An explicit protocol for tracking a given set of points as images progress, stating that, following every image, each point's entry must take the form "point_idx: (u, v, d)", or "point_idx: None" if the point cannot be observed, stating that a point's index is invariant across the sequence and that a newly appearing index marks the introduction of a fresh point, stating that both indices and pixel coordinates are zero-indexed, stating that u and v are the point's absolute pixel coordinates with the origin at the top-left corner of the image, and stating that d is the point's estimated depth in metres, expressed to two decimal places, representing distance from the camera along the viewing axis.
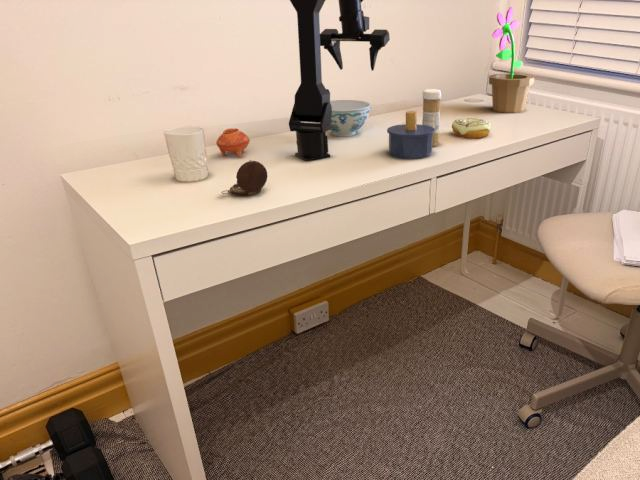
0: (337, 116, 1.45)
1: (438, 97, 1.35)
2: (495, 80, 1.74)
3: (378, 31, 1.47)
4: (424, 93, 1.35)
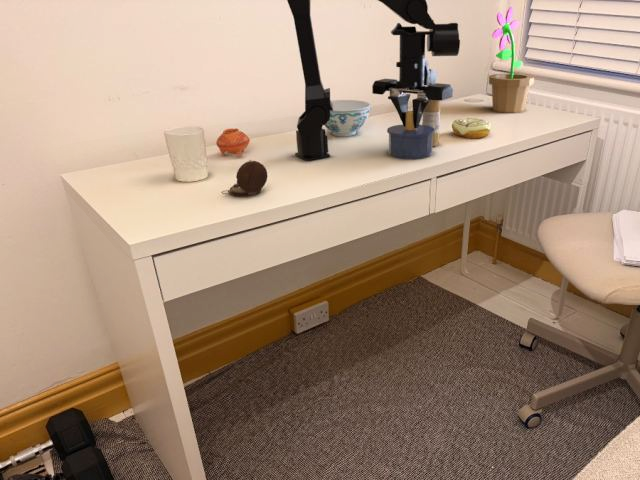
0: (337, 116, 1.45)
1: None
2: (495, 80, 1.74)
3: (440, 84, 1.25)
4: None
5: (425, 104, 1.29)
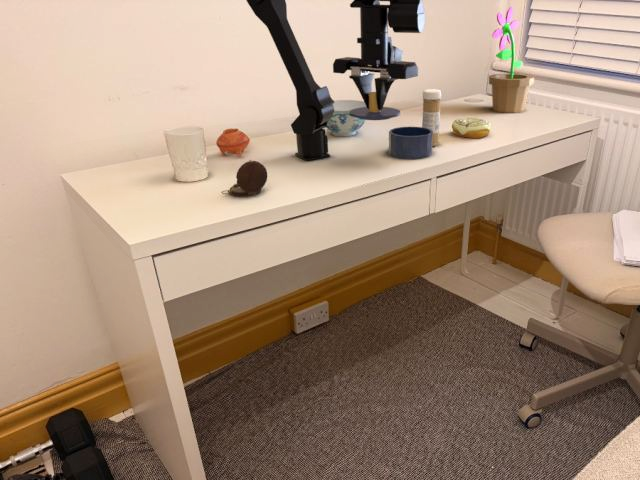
0: (337, 116, 1.45)
1: (438, 97, 1.35)
2: (495, 80, 1.74)
3: (404, 62, 1.16)
4: (424, 93, 1.35)
5: (389, 84, 1.20)
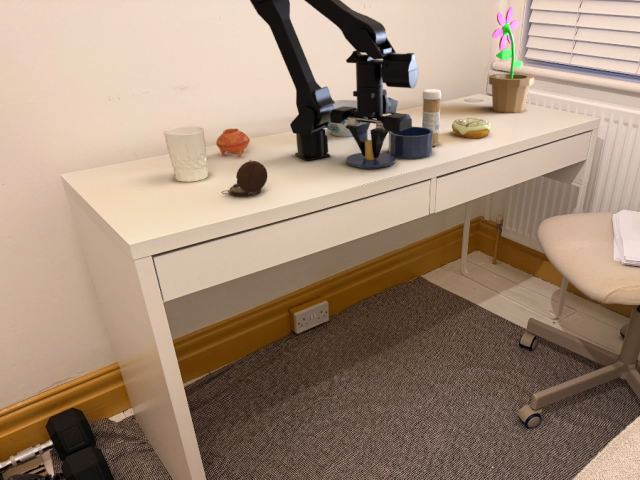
0: None
1: (438, 97, 1.35)
2: (495, 80, 1.74)
3: (398, 114, 1.20)
4: (424, 93, 1.35)
5: (385, 134, 1.24)
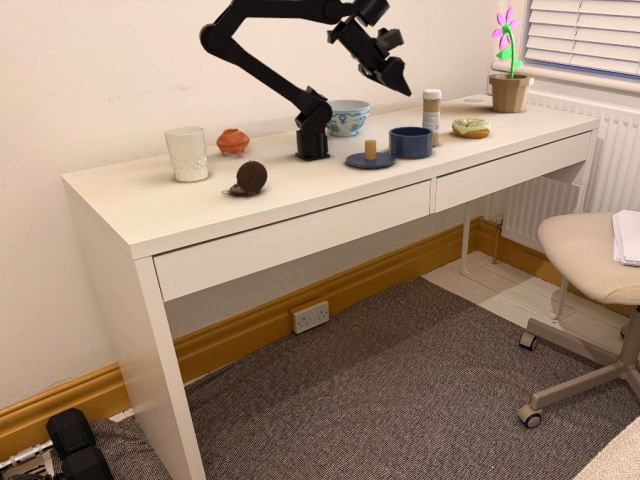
0: (337, 116, 1.45)
1: (438, 97, 1.35)
2: (495, 80, 1.74)
3: (387, 61, 1.22)
4: (424, 93, 1.35)
5: (401, 76, 1.25)
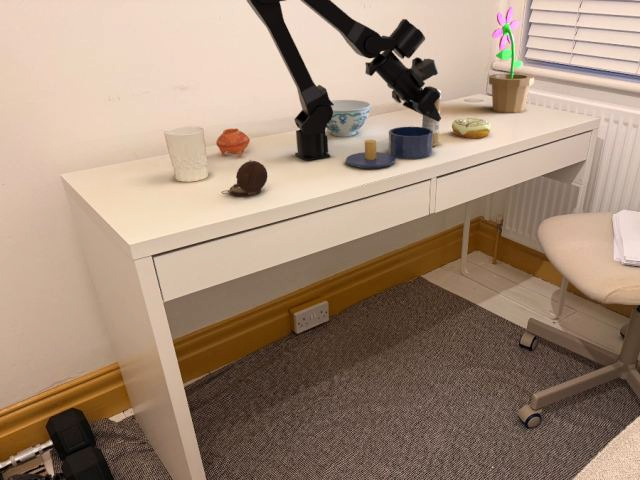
0: (337, 116, 1.45)
1: None
2: (495, 80, 1.74)
3: (424, 91, 1.29)
4: None
5: None
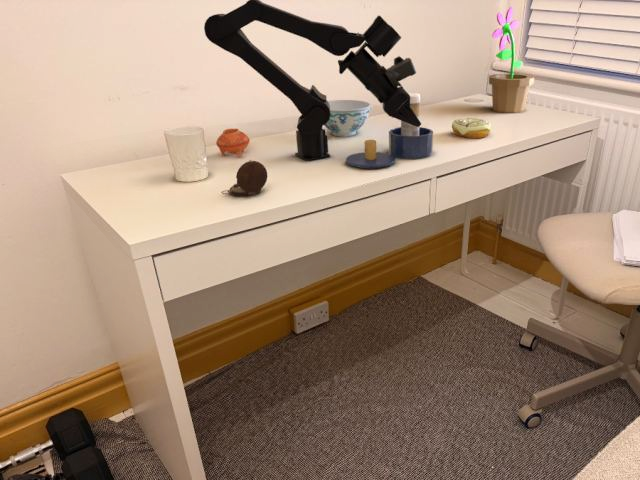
0: (337, 116, 1.45)
1: (415, 101, 1.28)
2: (495, 80, 1.74)
3: (393, 92, 1.22)
4: None
5: (408, 107, 1.24)
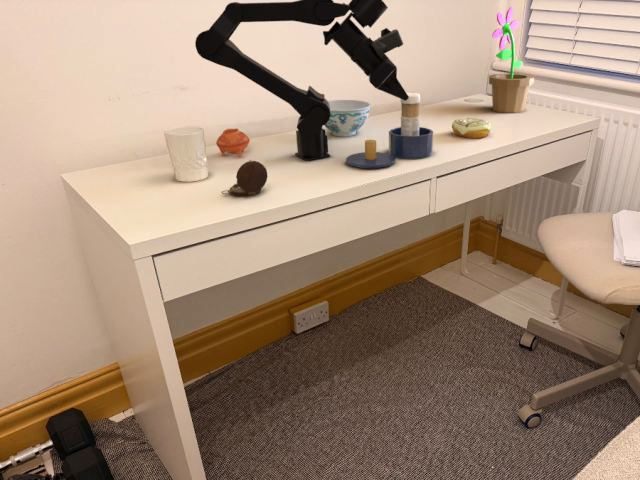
0: (337, 116, 1.45)
1: (415, 101, 1.28)
2: (495, 80, 1.74)
3: (379, 63, 1.19)
4: None
5: (394, 79, 1.21)
